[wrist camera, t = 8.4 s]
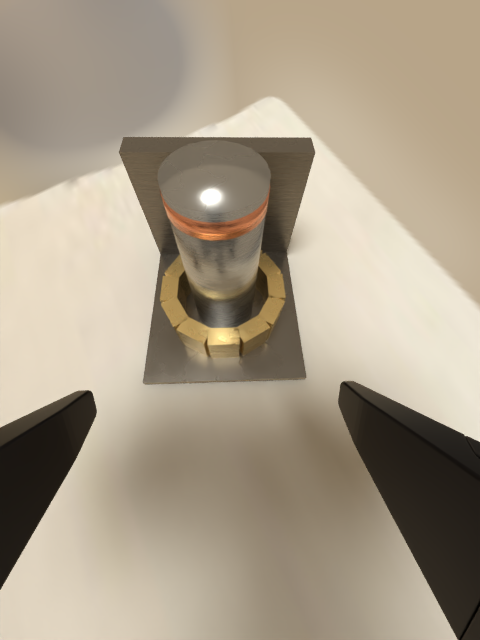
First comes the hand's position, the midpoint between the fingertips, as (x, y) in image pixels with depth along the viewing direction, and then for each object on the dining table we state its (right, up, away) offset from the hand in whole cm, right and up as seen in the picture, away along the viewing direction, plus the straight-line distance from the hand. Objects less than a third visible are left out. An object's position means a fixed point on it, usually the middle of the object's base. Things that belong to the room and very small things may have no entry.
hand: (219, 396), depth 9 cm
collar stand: (-1, +5, +13) cm, 13 cm away
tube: (-1, +4, +12) cm, 12 cm away
